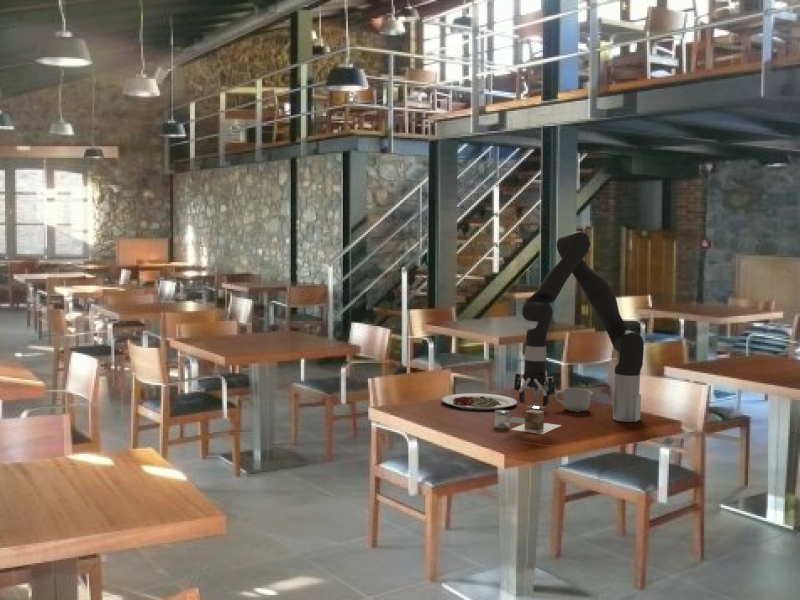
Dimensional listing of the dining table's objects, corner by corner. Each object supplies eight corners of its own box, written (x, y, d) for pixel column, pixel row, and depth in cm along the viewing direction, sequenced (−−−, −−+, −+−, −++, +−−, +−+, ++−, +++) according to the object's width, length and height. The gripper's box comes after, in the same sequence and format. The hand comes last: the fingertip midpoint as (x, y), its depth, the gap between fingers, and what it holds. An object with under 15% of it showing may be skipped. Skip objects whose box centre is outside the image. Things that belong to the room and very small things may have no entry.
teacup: (588, 408, 360) (589, 388, 359) (591, 413, 349) (592, 393, 348) (553, 407, 361) (553, 387, 360) (555, 412, 350) (555, 391, 350)
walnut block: (543, 427, 320) (544, 411, 320) (537, 430, 316) (538, 413, 315) (530, 426, 323) (530, 409, 322) (524, 428, 318) (525, 411, 318)
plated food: (532, 408, 359) (532, 400, 358) (469, 414, 344) (469, 406, 344) (488, 395, 385) (488, 387, 384) (427, 401, 370) (427, 393, 370)
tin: (512, 428, 321) (512, 411, 321) (505, 430, 317) (506, 413, 316) (498, 426, 324) (498, 409, 324) (491, 428, 320) (492, 411, 319)
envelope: (561, 426, 325) (561, 425, 325) (542, 435, 311) (542, 433, 311) (530, 422, 331) (530, 421, 331) (510, 430, 317) (510, 429, 317)
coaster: (535, 420, 334) (535, 419, 334) (524, 425, 326) (525, 424, 326) (512, 417, 338) (512, 416, 338) (502, 422, 331) (502, 420, 331)
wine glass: (547, 409, 356) (548, 371, 355) (526, 408, 356) (528, 370, 355) (544, 405, 364) (545, 368, 363) (524, 405, 364) (525, 367, 363)
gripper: (558, 359, 317) (556, 405, 318) (521, 355, 325) (519, 400, 326) (550, 361, 311) (548, 408, 312) (512, 357, 318) (510, 403, 320)
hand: (533, 404), depth 319 cm, fingers open, 8 cm apart
